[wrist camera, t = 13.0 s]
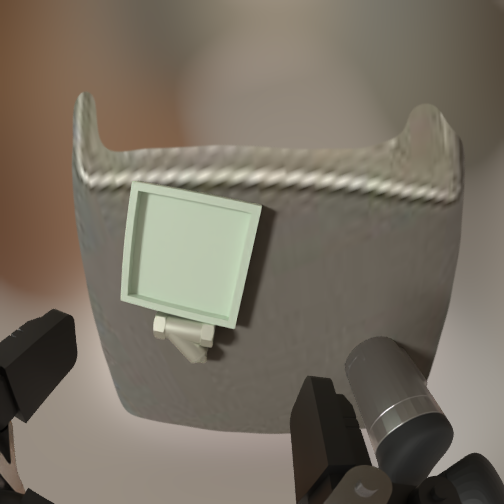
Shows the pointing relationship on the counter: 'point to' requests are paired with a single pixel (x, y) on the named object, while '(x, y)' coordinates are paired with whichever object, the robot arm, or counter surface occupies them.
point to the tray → (187, 252)
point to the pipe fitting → (185, 335)
